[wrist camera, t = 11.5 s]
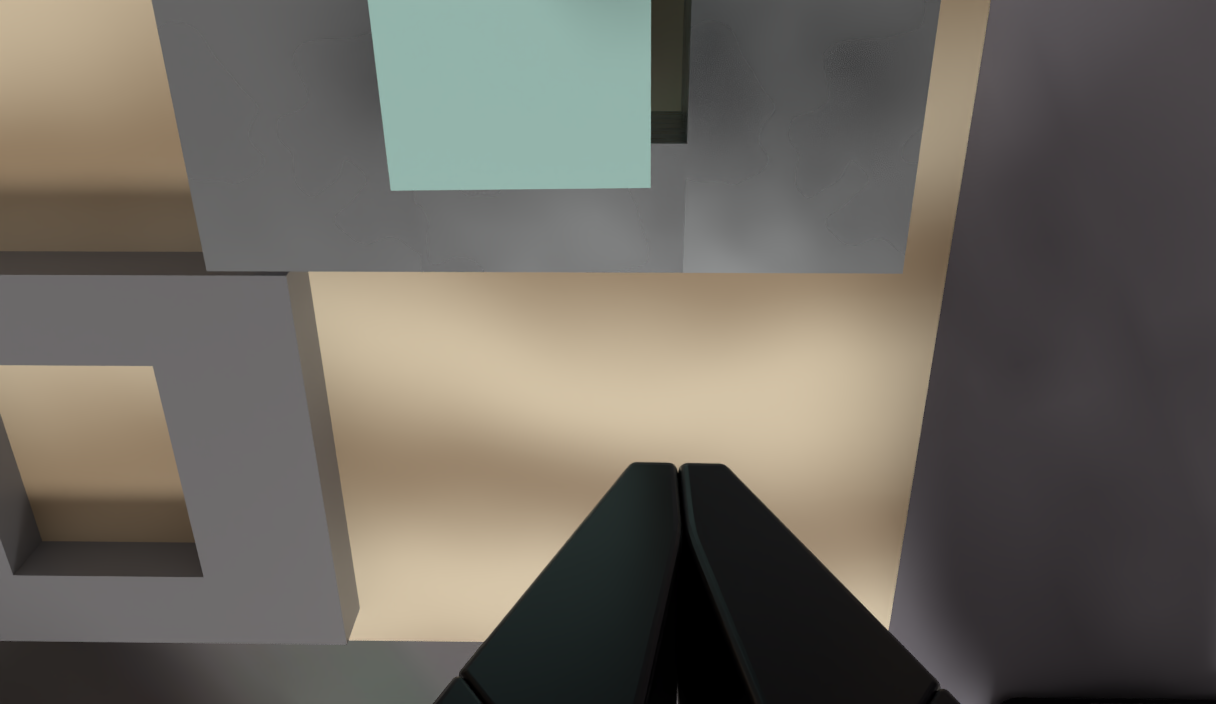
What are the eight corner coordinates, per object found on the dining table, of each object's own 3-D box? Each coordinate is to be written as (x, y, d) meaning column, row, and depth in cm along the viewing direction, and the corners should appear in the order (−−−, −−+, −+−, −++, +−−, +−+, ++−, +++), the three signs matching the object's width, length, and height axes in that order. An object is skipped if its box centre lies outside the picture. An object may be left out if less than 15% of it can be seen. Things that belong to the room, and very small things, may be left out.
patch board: (878, 622, 24) (885, 646, 24) (-84, 612, 25) (-106, 635, 24) (1059, -542, 14) (1082, -562, 14) (-557, -520, 15) (-617, -538, 14)
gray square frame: (359, 608, 23) (346, 645, 22) (-57, 603, 24) (-90, 639, 23) (305, 252, 19) (286, 275, 18) (-198, 250, 20) (-246, 274, 18)
